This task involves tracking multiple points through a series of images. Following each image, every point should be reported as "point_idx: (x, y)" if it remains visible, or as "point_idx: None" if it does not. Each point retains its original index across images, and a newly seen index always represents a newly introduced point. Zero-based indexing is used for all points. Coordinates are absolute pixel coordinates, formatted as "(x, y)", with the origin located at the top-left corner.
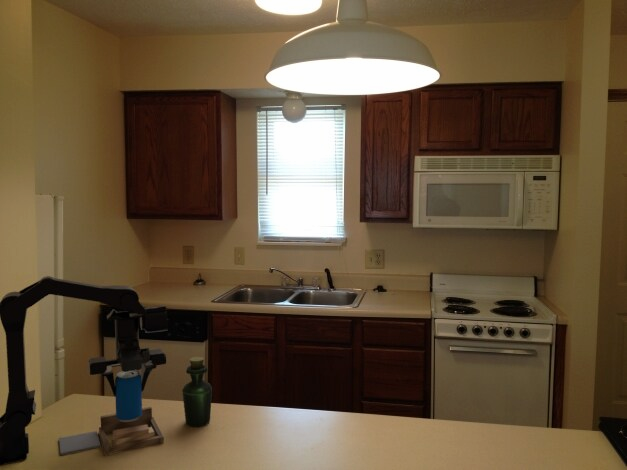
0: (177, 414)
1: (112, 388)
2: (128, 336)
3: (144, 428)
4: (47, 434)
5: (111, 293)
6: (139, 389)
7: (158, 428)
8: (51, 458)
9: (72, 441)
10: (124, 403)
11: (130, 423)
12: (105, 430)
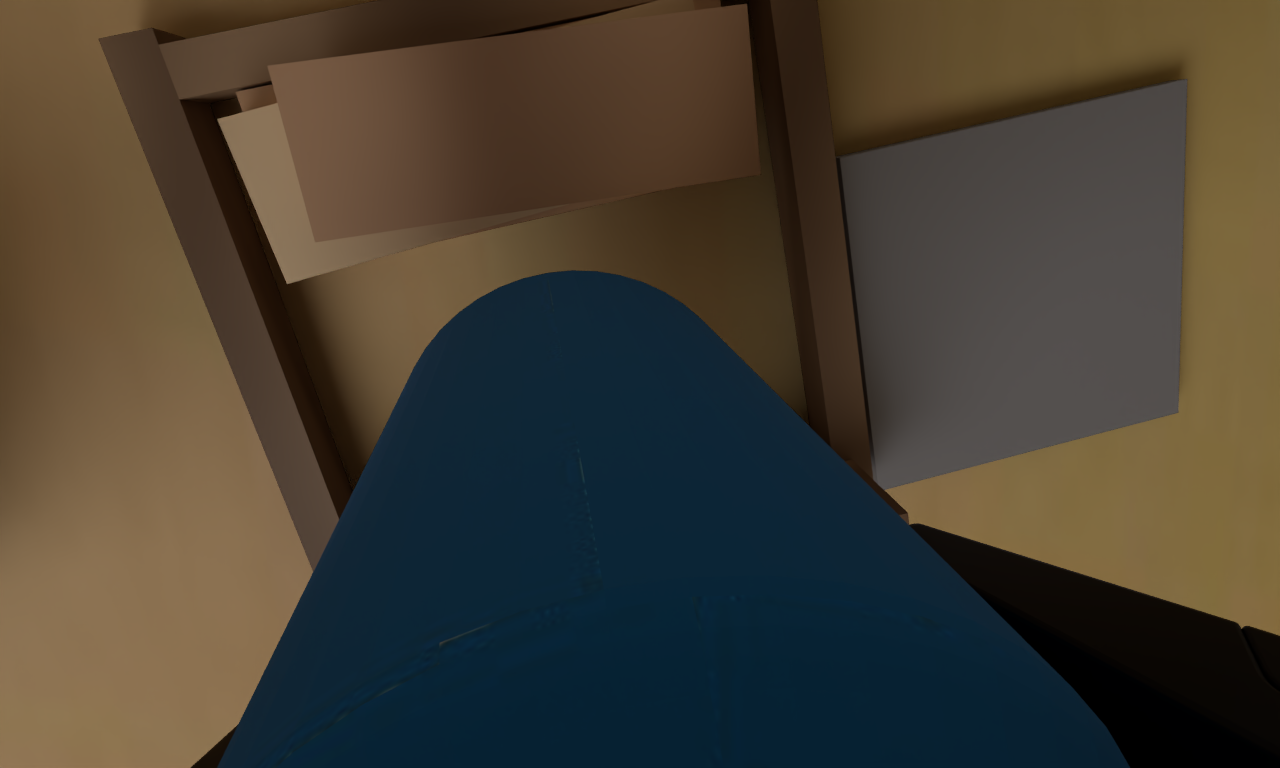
0: (107, 732)
1: (1090, 588)
2: None
3: (335, 105)
4: (1235, 535)
5: None
6: (300, 602)
7: (220, 322)
8: (1242, 44)
9: (1080, 316)
10: (668, 335)
11: None
12: None
